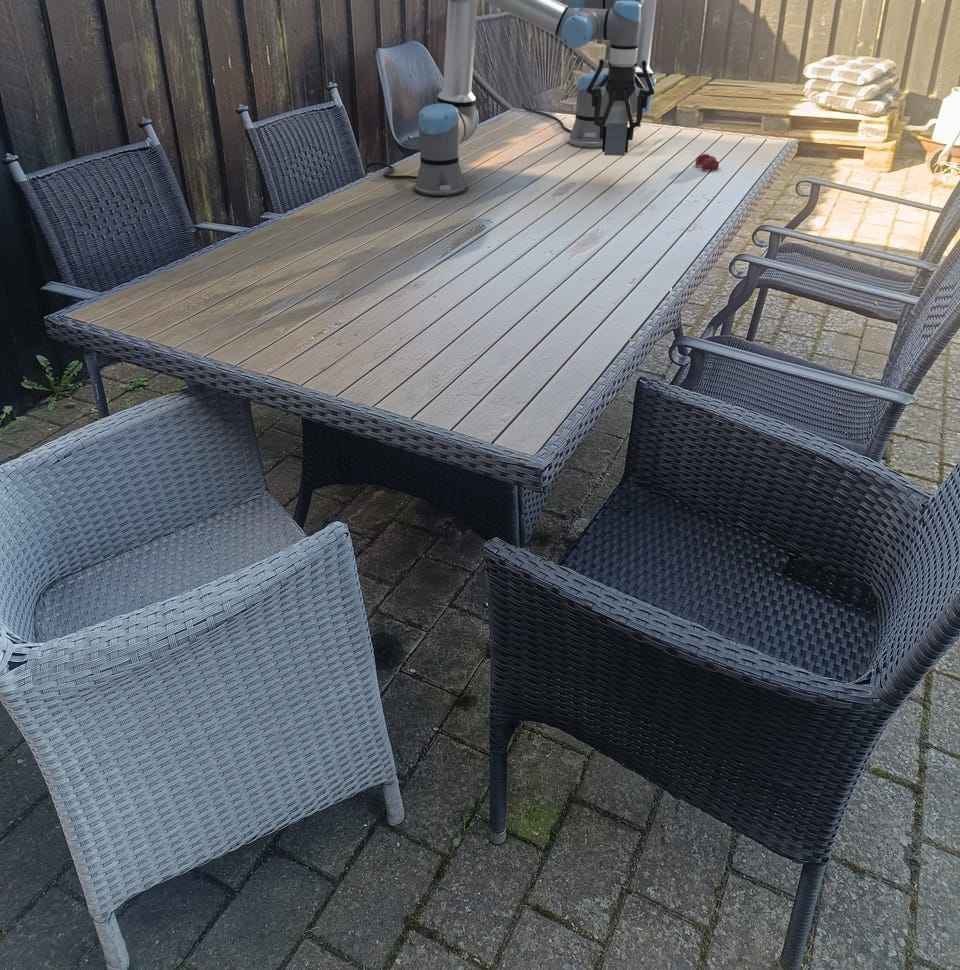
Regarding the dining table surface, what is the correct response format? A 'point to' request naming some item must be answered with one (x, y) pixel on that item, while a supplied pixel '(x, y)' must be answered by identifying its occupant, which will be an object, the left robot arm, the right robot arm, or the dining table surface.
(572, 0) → the right robot arm
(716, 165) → the dental model
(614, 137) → the bar
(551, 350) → the dining table surface
